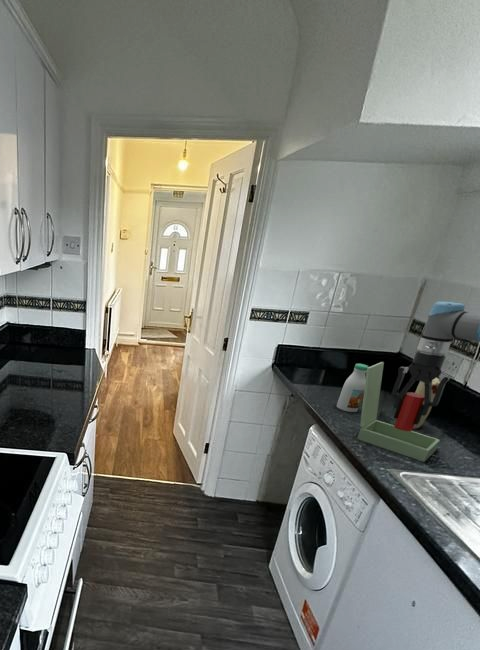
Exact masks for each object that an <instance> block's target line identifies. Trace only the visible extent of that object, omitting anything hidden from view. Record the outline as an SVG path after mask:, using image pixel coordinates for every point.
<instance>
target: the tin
mask: <svg viewBox="0 0 480 650" xmlns="http://www.w3.org/2000/svg"><path fill="white" fill-rule="evenodd" d="M403 399H404V400H403V403H402V405H401V408H400V411H399V414H398V417H397V418H396V419H395V422H394V424H393V425H394V427H395V428H397V429H399V430H403V431H414V429H413V428H414V425H415V424H414V422H415V420H416V417H417V414H418V412H419V409H420V407H421V405H422V404H423V402H424V396H423V395H421V394H417V393H415V392H411V391H407V392H406V394H405V395H404V396H403Z"/></svg>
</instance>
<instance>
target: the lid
mask: <svg viewBox="0 0 480 650" xmlns="http://www.w3.org/2000/svg"><path fill="white" fill-rule="evenodd" d="M384 364H385V362H384V361H380V362H378V363H376V364H373V365H371V366H368V368H367V372H366V374H365V379H366V381H365V389H364V394H363V397H362V408H361V414H360V415H361V416H360V424H359V428H362V427H364V426H366V425H367V424H369V423H370V422H372V421H373V420H377V419H378V411H379V402H380V394H381V388H382V387H381V386H382V381H383V380H382V379H383V372H384V366H385V365H384Z"/></svg>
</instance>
